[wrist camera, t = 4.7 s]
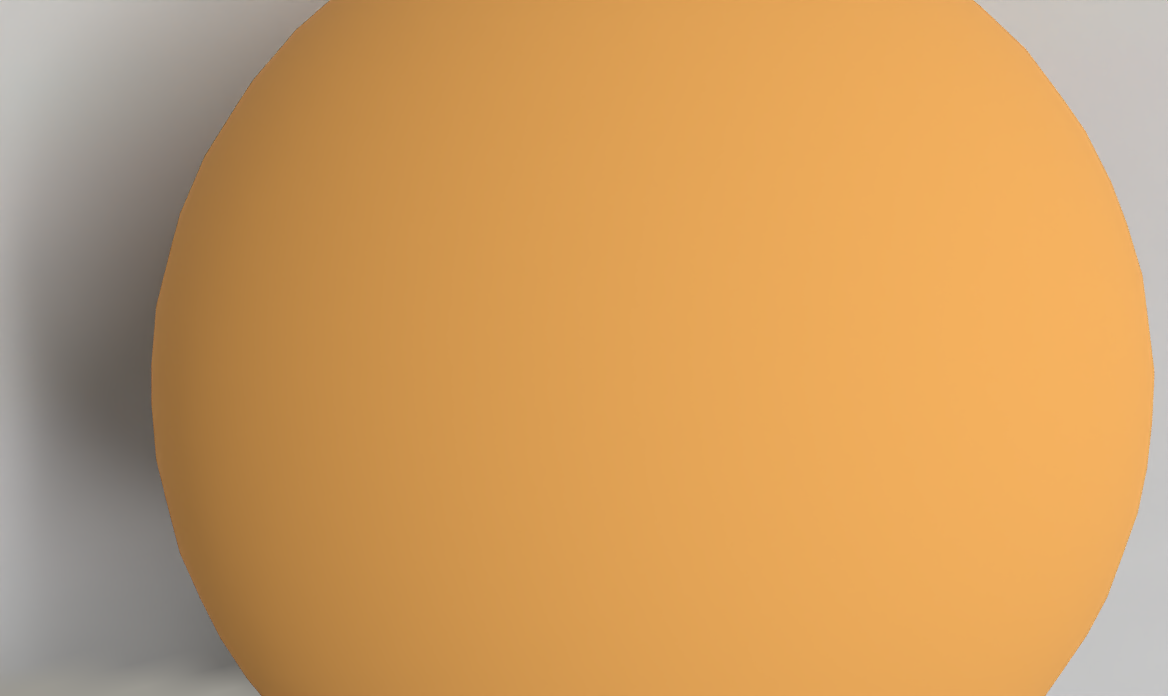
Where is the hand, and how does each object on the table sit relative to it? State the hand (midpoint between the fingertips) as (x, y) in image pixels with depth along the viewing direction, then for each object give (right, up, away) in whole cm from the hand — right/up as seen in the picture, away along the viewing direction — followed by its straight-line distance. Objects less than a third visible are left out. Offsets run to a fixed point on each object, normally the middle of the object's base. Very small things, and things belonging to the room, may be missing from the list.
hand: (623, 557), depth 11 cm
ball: (0, +2, -4) cm, 5 cm away
